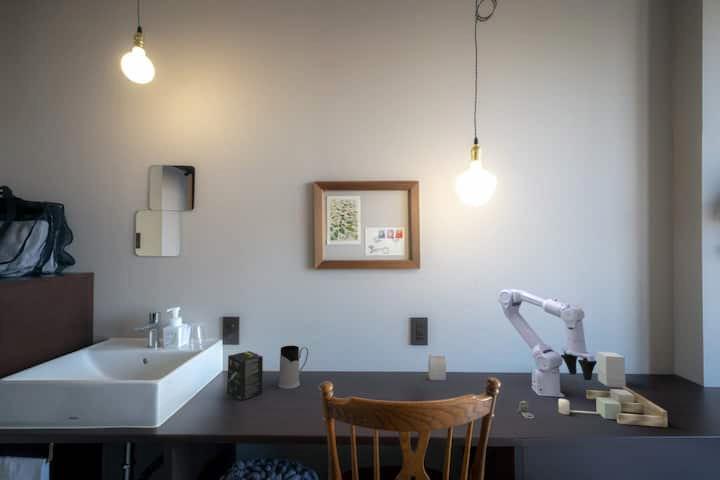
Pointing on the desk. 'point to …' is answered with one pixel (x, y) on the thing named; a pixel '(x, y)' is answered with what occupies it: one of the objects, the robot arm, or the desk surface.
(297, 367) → the grey mug
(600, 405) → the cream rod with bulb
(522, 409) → the strap clip
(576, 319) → the robot arm
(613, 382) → the supplement box
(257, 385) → the tampon box
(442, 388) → the desk surface
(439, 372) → the beige box
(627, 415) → the lane rack
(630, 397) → the grey block
